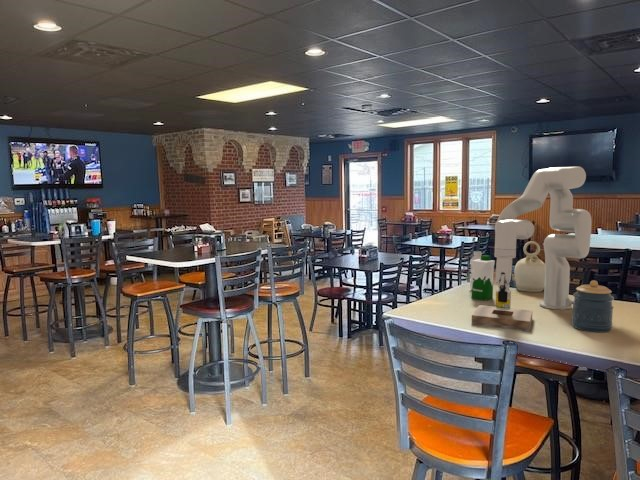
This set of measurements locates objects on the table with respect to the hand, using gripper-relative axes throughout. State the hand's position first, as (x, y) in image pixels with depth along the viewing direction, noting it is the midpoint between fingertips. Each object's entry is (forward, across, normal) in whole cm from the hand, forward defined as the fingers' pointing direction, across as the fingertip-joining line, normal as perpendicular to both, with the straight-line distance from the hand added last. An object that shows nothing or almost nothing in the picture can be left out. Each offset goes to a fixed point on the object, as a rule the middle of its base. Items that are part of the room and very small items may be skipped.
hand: (503, 299), depth 181 cm
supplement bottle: (+4, 0, 0) cm, 4 cm away
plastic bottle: (+9, -56, -18) cm, 59 cm away
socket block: (+9, 0, 0) cm, 9 cm away
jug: (+9, -71, +6) cm, 72 cm away
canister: (+9, -6, +30) cm, 32 cm away
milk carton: (+9, -39, -13) cm, 42 cm away
